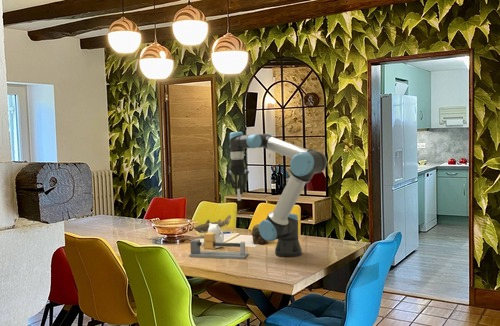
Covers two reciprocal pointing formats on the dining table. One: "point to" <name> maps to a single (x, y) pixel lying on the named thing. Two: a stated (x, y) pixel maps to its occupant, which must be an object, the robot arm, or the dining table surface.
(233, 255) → the slider rail
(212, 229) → the cat figurine
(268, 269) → the dining table surface
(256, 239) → the carved stone head
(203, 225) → the wood carving
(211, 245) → the sleeve
